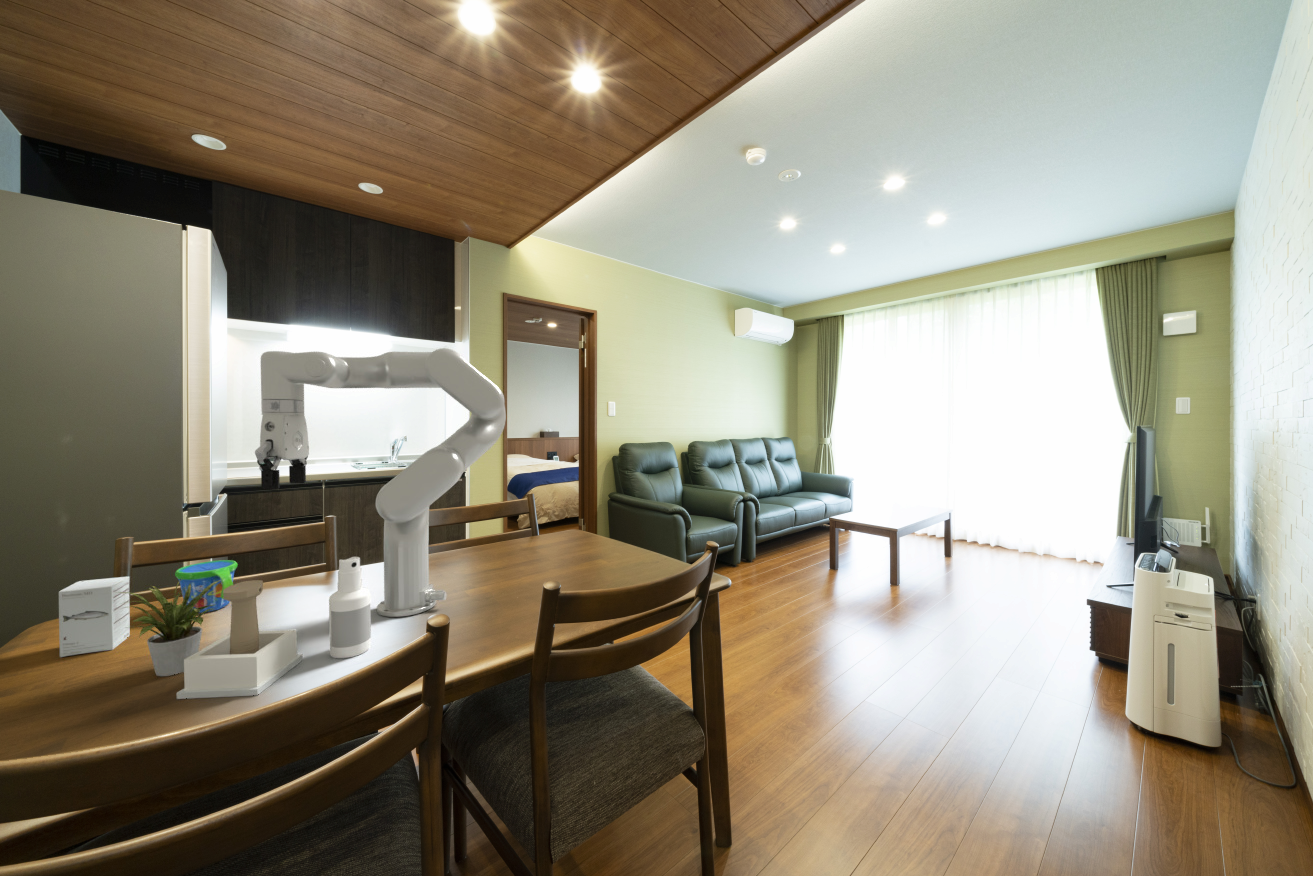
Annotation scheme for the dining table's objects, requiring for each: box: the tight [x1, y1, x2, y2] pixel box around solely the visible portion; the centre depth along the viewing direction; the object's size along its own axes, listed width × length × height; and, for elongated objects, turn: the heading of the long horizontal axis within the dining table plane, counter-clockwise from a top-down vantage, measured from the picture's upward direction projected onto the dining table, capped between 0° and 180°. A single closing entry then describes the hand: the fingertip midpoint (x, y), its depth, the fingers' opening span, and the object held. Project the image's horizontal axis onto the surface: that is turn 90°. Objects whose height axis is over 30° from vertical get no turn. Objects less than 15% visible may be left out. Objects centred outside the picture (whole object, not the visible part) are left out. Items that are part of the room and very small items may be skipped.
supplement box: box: [58, 576, 131, 658], centre depth 96 cm, size 7×7×13 cm
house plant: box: [117, 576, 220, 677], centre depth 87 cm, size 14×14×16 cm
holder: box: [176, 629, 304, 700], centre depth 85 cm, size 12×12×6 cm
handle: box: [223, 579, 264, 655], centre depth 85 cm, size 5×6×15 cm
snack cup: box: [174, 559, 238, 615], centre depth 115 cm, size 16×10×10 cm
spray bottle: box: [328, 556, 372, 659], centre depth 95 cm, size 7×7×18 cm
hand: (284, 485), depth 108 cm, fingers open, 9 cm apart
